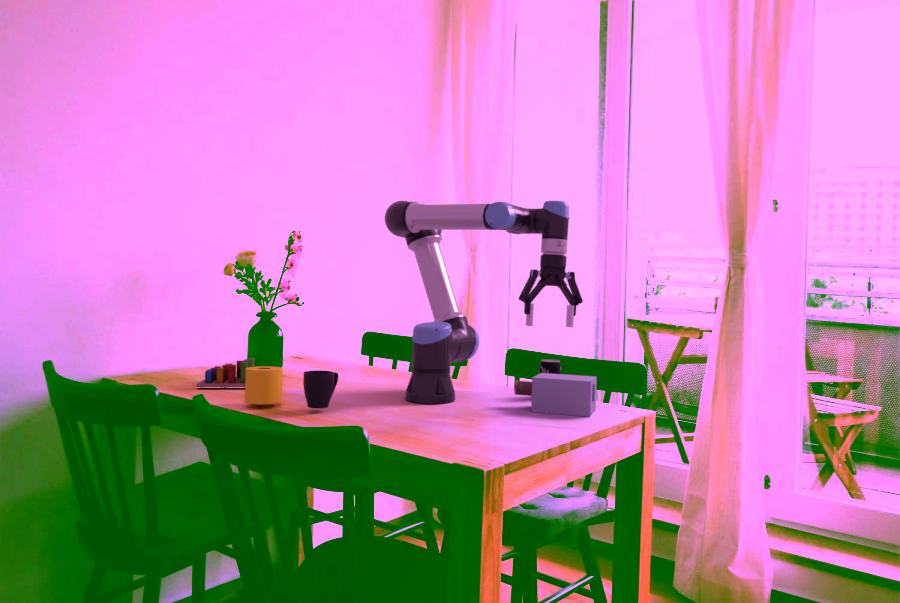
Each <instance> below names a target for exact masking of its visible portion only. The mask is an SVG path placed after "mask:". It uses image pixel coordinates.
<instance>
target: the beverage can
mask: <svg viewBox="0 0 900 603" xmlns="http://www.w3.org/2000/svg"><path fill="white" fill-rule="evenodd" d="M540 361H541V363H540V364H539V374H540V373H550V374H562V365H561V363H560V362H561V361H560V360H559V359H541V360H540Z"/></svg>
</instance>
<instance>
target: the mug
mask: <svg viewBox="0 0 900 603" xmlns="http://www.w3.org/2000/svg"><path fill="white" fill-rule="evenodd" d="M338 381H339V373H338V372H337V371H336V372H335V371H330V370H307V371H303V391H304V396H305V397H304V398H305V401H306V404H307V407H308V408H310V409H327V408H328V407H329V405H330V401H331V399H332V397H333V395H334V392H335V389H336V387H337V385H338V384H337V383H338Z"/></svg>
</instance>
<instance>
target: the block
mask: <svg viewBox="0 0 900 603" xmlns="http://www.w3.org/2000/svg"><path fill="white" fill-rule="evenodd" d="M597 379H598V378H597V376H596V375H595V376H594V375H593V376H592V375H578V374H577V375H576V374H564V373H563V374H562V373H561V374H550V373H540V372H539V373H538V374H537V375H535V376H532V377H531V382H532V396H531V405H530V406H531V410H530V412H532V413H540V414H554V415H564V416H573V417H574V416H575V417H576V416H577V417H585V418H586V417H588V418H590V417H591V416H592V415H593V414H594V412H595V411H596V410H597V381H598V380H597Z"/></svg>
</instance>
